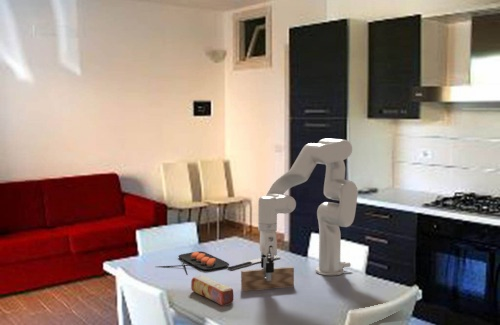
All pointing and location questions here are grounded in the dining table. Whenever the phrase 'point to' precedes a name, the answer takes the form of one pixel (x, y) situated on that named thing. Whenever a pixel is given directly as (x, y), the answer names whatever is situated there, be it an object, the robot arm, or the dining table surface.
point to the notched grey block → (267, 275)
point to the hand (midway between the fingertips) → (267, 269)
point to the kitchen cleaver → (247, 263)
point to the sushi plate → (201, 261)
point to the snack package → (212, 290)
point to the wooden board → (258, 280)
